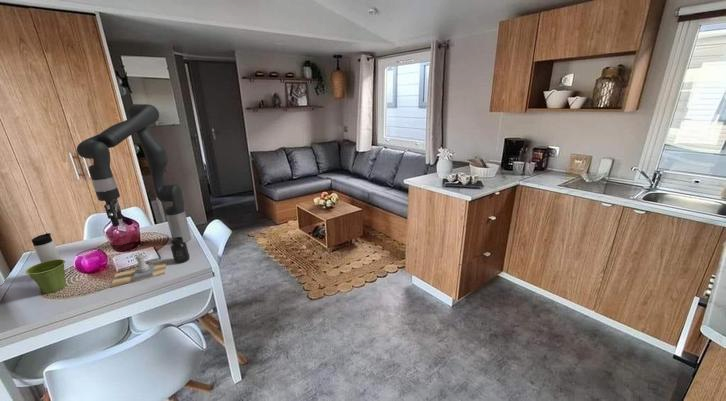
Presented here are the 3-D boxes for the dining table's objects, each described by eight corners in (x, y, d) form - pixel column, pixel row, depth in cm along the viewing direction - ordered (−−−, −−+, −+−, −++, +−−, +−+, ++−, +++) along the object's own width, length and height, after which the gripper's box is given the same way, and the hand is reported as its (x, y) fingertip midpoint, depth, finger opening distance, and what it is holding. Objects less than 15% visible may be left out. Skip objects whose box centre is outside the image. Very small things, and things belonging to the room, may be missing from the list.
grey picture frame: (135, 268, 139) (133, 277, 132) (153, 264, 143) (151, 272, 135) (136, 271, 140) (134, 280, 132) (154, 266, 143) (152, 275, 136)
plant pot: (40, 300, 122) (29, 276, 118) (32, 291, 128) (21, 269, 124) (77, 285, 131) (68, 263, 128) (68, 277, 137) (59, 256, 134)
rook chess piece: (141, 268, 139) (137, 252, 137) (151, 267, 140) (147, 252, 137) (135, 273, 135) (130, 257, 133) (146, 272, 136) (141, 257, 133)
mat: (115, 274, 139) (115, 273, 138) (166, 262, 148) (165, 261, 148) (110, 288, 129) (110, 286, 128) (164, 274, 138) (164, 272, 138)
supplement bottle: (193, 256, 153) (187, 235, 149) (184, 263, 146) (178, 242, 142) (180, 256, 153) (175, 235, 149) (171, 263, 147) (165, 241, 143)
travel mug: (69, 271, 143) (54, 233, 136) (52, 278, 137) (35, 240, 131) (61, 269, 145) (45, 232, 138) (44, 276, 139) (27, 238, 133)
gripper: (98, 185, 132) (110, 219, 137) (91, 194, 120) (104, 230, 126) (119, 182, 135) (130, 215, 141) (114, 190, 124) (126, 225, 129)
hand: (117, 222), depth 133 cm, fingers open, 8 cm apart
